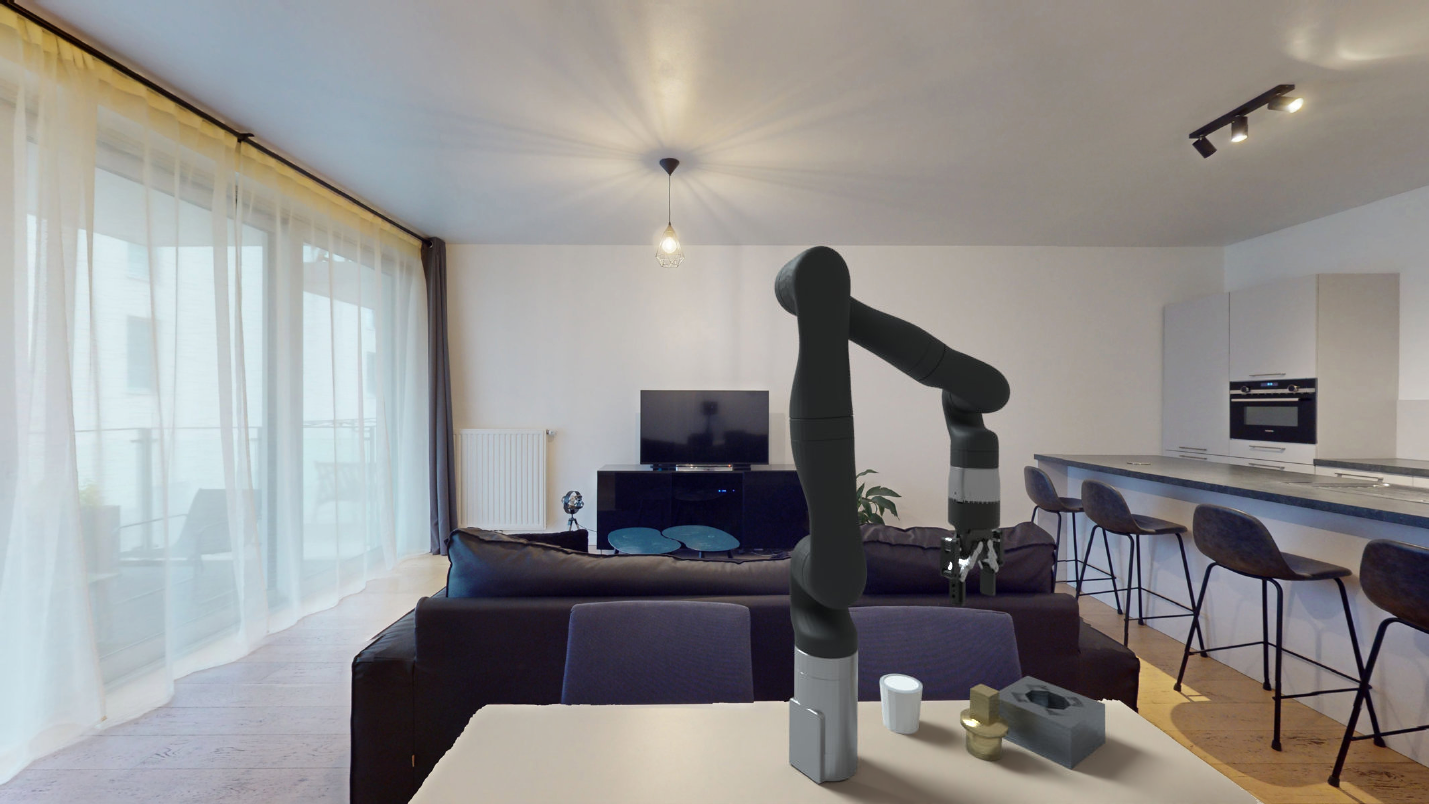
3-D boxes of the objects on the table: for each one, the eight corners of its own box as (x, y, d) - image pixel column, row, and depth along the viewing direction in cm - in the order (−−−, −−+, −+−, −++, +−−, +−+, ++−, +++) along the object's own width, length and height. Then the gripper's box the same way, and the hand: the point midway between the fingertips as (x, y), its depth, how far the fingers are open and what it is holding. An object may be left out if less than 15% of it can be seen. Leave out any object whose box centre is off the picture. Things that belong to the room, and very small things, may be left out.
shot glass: (927, 721, 99) (927, 679, 99) (916, 741, 93) (917, 696, 93) (886, 709, 102) (886, 669, 102) (873, 727, 97) (874, 685, 97)
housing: (1071, 769, 86) (1071, 728, 86) (991, 732, 95) (991, 695, 95) (1105, 742, 93) (1105, 704, 93) (1027, 710, 102) (1027, 675, 103)
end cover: (993, 769, 85) (994, 705, 86) (950, 747, 91) (951, 686, 91) (1017, 754, 89) (1018, 693, 90) (974, 733, 95) (976, 675, 95)
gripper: (976, 489, 99) (975, 585, 99) (925, 496, 91) (924, 601, 91) (1020, 495, 93) (1020, 597, 93) (970, 503, 85) (969, 615, 85)
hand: (972, 599), depth 92 cm, fingers open, 8 cm apart
